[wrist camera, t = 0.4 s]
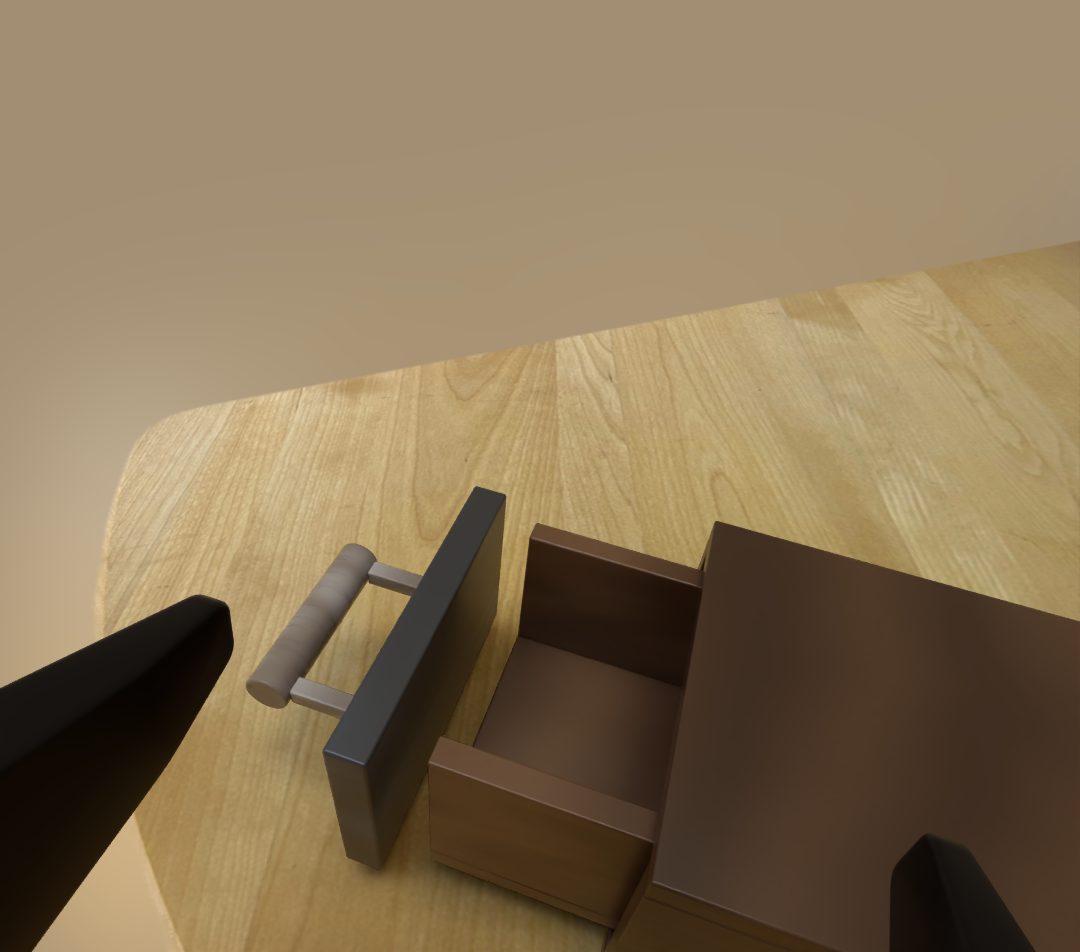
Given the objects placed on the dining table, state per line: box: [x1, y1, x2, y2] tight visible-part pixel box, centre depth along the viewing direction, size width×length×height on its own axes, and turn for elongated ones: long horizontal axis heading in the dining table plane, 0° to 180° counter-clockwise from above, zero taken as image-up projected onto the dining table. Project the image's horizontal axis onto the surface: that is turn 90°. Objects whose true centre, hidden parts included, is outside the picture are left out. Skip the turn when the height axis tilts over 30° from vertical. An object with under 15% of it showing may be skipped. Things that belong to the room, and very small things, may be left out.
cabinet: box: [601, 521, 1080, 952], centre depth 21 cm, size 14×12×9 cm
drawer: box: [246, 486, 703, 929], centre depth 23 cm, size 17×10×7 cm, turn 73°
